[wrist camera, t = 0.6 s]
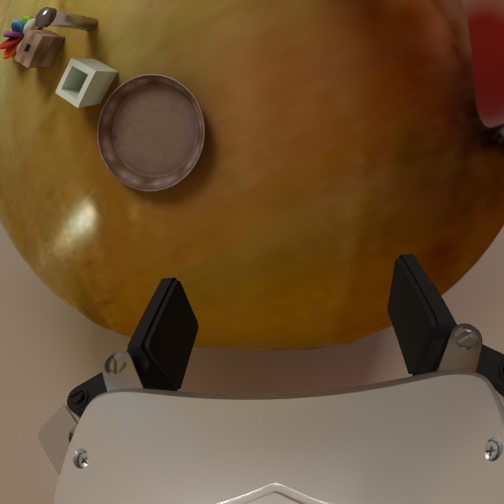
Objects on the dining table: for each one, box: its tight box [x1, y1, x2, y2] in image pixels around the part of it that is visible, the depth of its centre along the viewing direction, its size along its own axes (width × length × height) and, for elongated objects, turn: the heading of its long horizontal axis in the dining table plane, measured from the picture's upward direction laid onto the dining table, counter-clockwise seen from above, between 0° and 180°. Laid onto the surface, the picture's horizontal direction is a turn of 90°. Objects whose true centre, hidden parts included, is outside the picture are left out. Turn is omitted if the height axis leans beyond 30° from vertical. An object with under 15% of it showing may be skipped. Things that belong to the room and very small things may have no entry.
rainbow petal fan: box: [0, 16, 39, 59], centre depth 20 cm, size 8×10×7 cm
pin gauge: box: [35, 7, 98, 31], centre depth 20 cm, size 3×3×12 cm
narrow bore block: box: [14, 30, 65, 68], centre depth 23 cm, size 6×6×6 cm
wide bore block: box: [55, 58, 118, 108], centre depth 28 cm, size 6×6×6 cm
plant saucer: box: [97, 74, 205, 191], centre depth 34 cm, size 18×18×3 cm
